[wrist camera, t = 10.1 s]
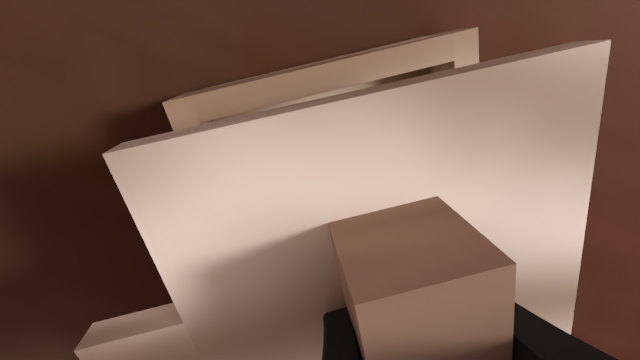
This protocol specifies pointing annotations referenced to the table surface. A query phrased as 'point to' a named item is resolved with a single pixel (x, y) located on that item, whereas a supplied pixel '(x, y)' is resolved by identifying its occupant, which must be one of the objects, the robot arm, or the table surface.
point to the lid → (369, 216)
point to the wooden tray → (325, 78)
